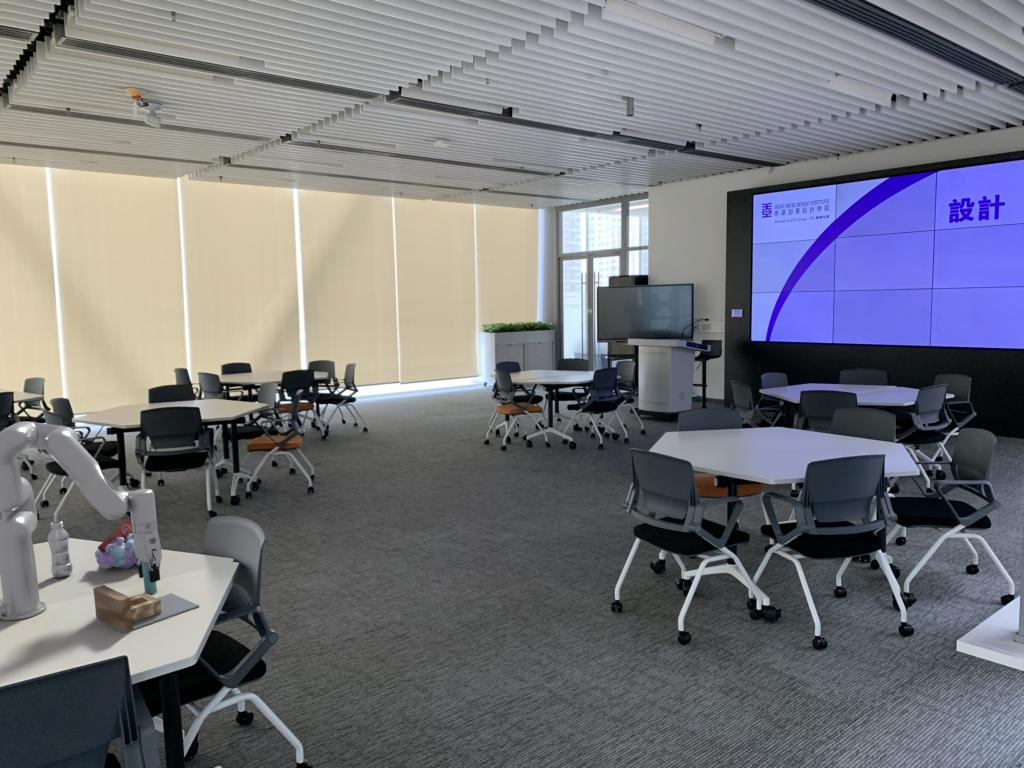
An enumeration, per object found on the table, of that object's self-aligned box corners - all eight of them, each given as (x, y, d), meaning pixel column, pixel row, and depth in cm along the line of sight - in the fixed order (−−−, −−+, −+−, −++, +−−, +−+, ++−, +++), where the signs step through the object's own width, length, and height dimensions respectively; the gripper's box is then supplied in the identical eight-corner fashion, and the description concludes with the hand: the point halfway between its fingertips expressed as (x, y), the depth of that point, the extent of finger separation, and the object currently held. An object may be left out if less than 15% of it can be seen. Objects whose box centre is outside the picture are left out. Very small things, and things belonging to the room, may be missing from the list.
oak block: (128, 623, 227) (127, 610, 226) (113, 616, 233) (112, 603, 233) (161, 612, 234) (160, 599, 234) (146, 605, 241) (145, 593, 240)
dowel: (148, 595, 251) (143, 554, 250) (143, 593, 254) (138, 552, 252) (158, 591, 254) (154, 551, 252) (153, 589, 256) (149, 549, 255)
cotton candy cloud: (137, 563, 269) (147, 514, 277) (76, 563, 269) (87, 514, 276) (160, 575, 288) (169, 528, 295) (103, 575, 287) (113, 528, 295)
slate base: (122, 633, 222) (122, 632, 222) (96, 619, 233) (96, 617, 233) (199, 606, 240) (199, 605, 240) (171, 594, 251) (171, 593, 251)
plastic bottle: (66, 579, 270) (60, 524, 268) (47, 579, 270) (41, 525, 268) (77, 572, 276) (71, 519, 274) (58, 573, 277) (53, 519, 274)
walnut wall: (122, 632, 222) (119, 600, 220) (96, 617, 233) (93, 587, 232) (133, 628, 224) (130, 597, 223) (106, 614, 235) (103, 584, 234)
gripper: (168, 528, 249) (173, 580, 251) (143, 520, 260) (148, 570, 262) (145, 534, 243) (150, 588, 245) (121, 525, 254) (126, 577, 256)
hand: (149, 578), depth 253 cm, fingers open, 6 cm apart
